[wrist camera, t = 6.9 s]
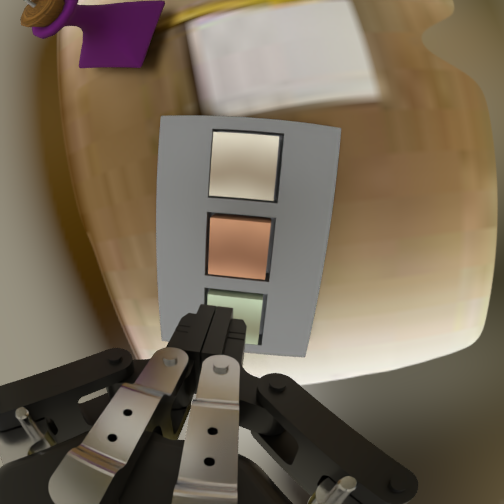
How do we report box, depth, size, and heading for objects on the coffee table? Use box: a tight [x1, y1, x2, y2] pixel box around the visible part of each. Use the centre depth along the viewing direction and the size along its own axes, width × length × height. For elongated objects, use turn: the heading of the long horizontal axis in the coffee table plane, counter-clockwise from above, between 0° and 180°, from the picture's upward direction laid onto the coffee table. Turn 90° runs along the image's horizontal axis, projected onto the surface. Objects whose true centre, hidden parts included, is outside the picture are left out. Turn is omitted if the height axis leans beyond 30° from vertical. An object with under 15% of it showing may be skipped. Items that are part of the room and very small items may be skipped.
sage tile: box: [207, 288, 263, 345], centre depth 28 cm, size 5×5×2 cm
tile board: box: [156, 116, 341, 357], centre depth 27 cm, size 22×15×3 cm
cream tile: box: [209, 132, 279, 201], centre depth 23 cm, size 5×5×2 cm
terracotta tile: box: [208, 213, 271, 280], centre depth 26 cm, size 5×5×2 cm
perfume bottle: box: [21, 0, 165, 68], centre depth 14 cm, size 8×8×18 cm
